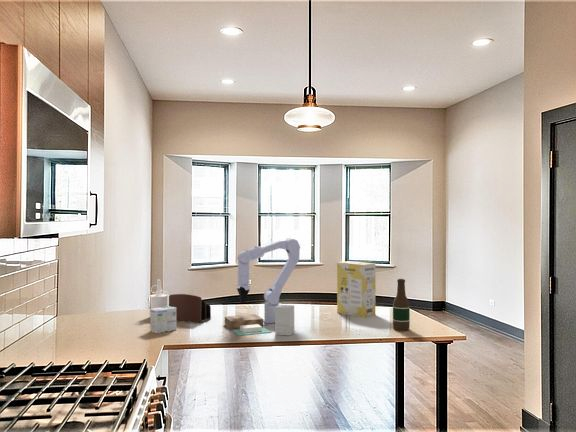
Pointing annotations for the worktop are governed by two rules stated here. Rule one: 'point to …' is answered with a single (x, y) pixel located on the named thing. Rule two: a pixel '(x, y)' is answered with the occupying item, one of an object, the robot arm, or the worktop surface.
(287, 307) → the supplement box
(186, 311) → the letter holder
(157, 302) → the white necked piece
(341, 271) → the pasta box
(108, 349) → the worktop surface
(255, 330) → the cream white block
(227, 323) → the board
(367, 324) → the worktop surface
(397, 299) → the beer bottle
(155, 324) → the light bulb box
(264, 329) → the mat
